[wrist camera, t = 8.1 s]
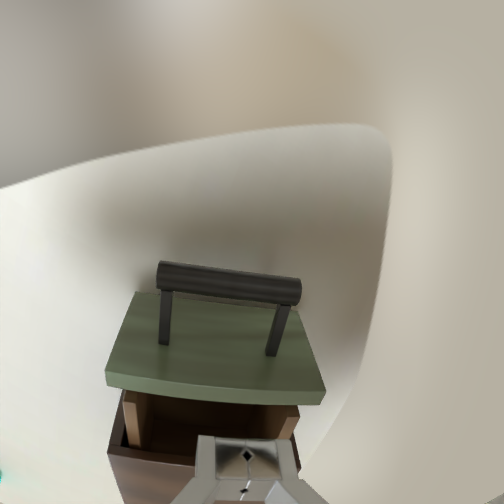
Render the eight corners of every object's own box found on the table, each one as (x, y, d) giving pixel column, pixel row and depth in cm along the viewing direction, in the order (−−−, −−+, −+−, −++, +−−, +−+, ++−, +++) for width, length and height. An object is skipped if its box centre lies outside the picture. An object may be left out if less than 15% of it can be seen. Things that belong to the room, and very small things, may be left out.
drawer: (138, 222, 19) (96, 285, 12) (316, 248, 21) (360, 316, 14) (139, 412, 26) (127, 482, 19) (259, 424, 28) (269, 493, 21)
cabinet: (131, 357, 25) (106, 453, 16) (280, 373, 26) (301, 468, 18) (139, 446, 30) (130, 518, 21) (249, 457, 32) (257, 528, 23)
